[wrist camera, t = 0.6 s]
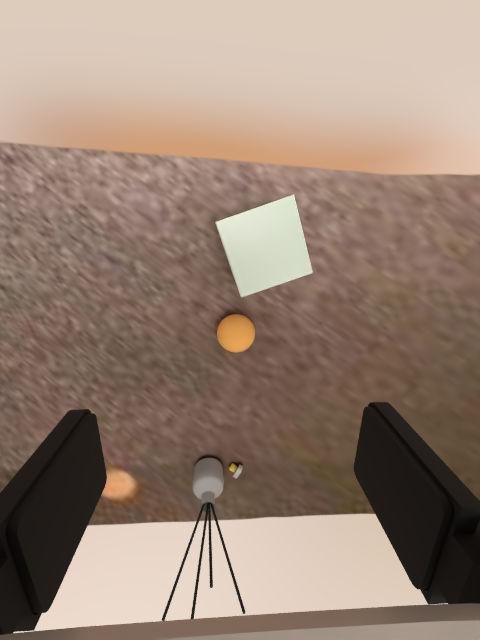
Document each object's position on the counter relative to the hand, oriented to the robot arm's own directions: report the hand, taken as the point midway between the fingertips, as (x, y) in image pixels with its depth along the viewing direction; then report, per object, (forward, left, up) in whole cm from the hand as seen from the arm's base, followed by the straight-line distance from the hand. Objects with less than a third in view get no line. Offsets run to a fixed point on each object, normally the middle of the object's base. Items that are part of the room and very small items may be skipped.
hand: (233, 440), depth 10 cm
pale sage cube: (+6, +3, -29) cm, 30 cm away
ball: (0, -7, -27) cm, 28 cm away
